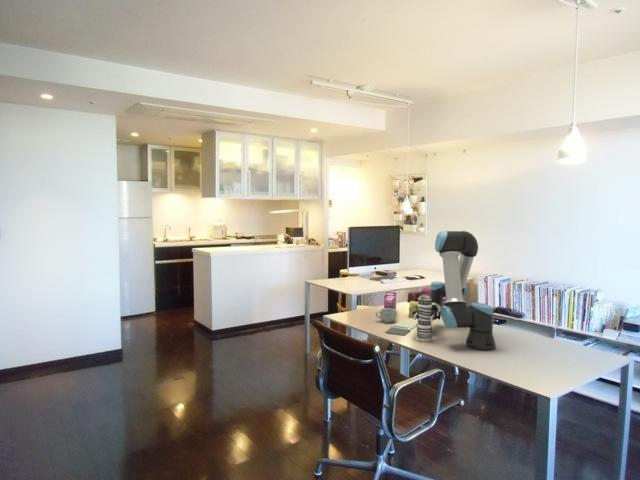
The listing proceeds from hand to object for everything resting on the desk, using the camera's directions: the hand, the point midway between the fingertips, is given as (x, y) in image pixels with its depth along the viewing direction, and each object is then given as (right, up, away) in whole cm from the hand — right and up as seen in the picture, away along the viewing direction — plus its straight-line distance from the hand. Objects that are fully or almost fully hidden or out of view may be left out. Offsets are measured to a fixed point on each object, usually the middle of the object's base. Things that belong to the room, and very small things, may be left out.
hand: (422, 318), depth 241 cm
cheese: (+9, -9, +56) cm, 57 cm away
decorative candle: (+2, -13, +5) cm, 14 cm away
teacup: (-14, -10, +42) cm, 46 cm away
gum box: (-8, -9, +63) cm, 64 cm away
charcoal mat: (-10, -12, +20) cm, 25 cm away
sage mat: (-3, -11, +34) cm, 36 cm away
